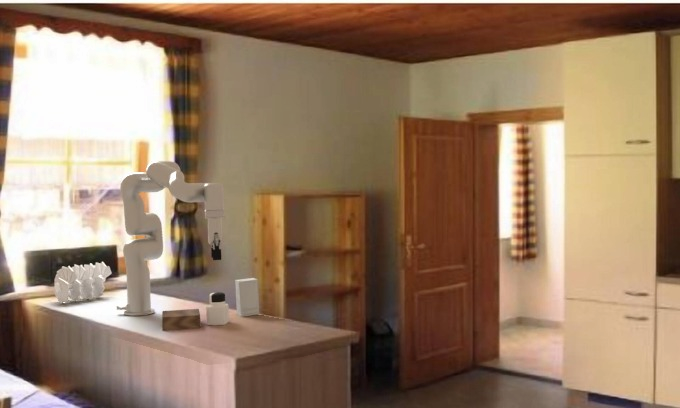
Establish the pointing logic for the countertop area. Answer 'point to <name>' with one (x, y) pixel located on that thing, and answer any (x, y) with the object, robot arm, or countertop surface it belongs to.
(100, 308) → the countertop surface
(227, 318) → the medicine bottle
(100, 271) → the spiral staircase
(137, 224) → the robot arm
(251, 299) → the skincare box
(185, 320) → the walnut riser
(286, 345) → the countertop surface
